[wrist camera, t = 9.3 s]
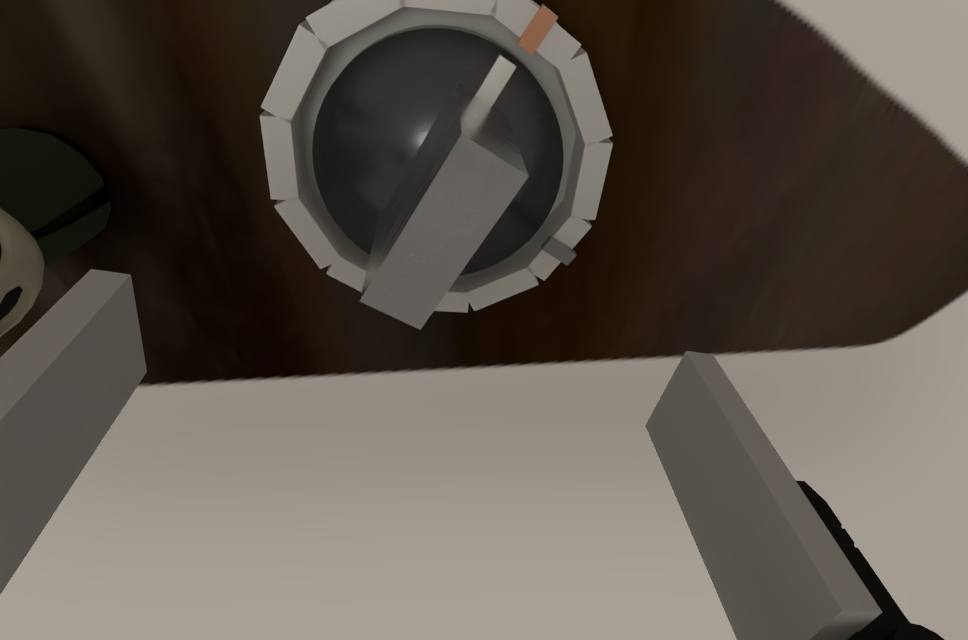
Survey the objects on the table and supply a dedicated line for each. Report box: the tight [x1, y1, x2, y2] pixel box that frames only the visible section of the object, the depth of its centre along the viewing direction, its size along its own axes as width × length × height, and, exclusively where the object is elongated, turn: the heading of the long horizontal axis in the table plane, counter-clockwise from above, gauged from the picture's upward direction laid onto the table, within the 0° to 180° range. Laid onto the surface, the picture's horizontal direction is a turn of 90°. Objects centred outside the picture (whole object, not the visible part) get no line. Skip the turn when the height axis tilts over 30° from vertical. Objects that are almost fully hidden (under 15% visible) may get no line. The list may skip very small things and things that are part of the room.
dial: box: [312, 25, 564, 330], centre depth 22 cm, size 11×11×8 cm
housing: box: [260, 0, 613, 312], centre depth 26 cm, size 15×15×5 cm
